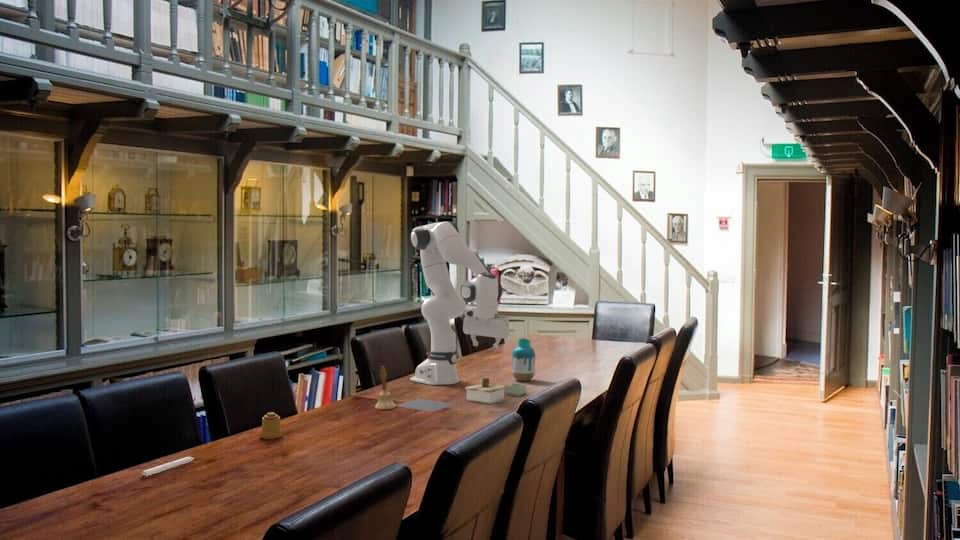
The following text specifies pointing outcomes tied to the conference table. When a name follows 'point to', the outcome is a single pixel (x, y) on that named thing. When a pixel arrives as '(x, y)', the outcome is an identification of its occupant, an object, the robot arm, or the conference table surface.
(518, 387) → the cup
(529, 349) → the vase
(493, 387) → the lid
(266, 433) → the ornamental finial
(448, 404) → the mat
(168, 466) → the marker
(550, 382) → the conference table surface
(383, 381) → the hand bell
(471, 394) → the dish
